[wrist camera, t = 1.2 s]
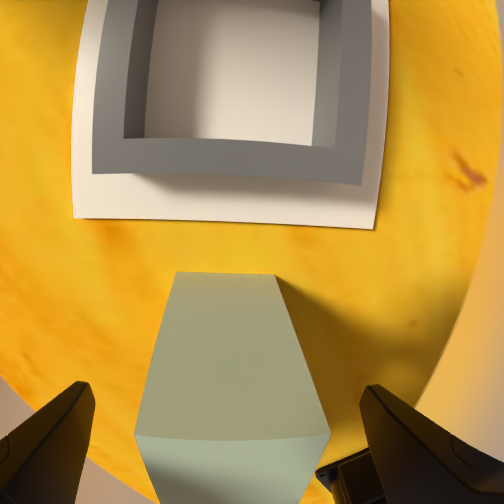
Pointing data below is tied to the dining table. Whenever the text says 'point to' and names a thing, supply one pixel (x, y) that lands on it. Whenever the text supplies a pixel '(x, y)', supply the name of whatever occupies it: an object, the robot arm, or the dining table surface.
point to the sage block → (229, 397)
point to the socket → (231, 110)
